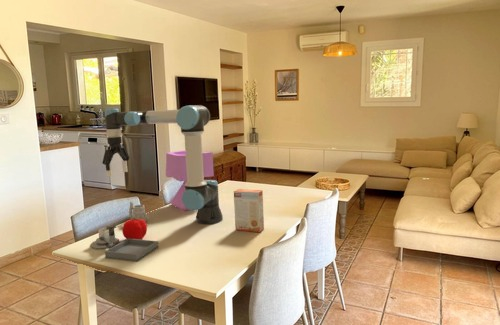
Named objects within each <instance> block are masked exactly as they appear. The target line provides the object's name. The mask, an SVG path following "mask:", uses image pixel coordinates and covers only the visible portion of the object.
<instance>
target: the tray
mask: <svg viewBox="0 0 500 325" xmlns="http://www.w3.org/2000/svg"><path fill="white" fill-rule="evenodd" d="M158 248H159V240H147V239H140V240H139V239H126V238H125V239H124V240H123V241H120V242H119V244H117V245H116V246H114V247H111V248H107V250H105V251H104V254H105V255H104V258H105V259H112V260H120V261H121V260H122V261H127V262H128V261H129V262H139V261H141V260H142V259H143V258H145V257H146V256H148V255H149V254H151V253H152V252H154V251H155V250H156V249H158Z"/></svg>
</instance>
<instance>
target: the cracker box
mask: <svg viewBox="0 0 500 325" xmlns="http://www.w3.org/2000/svg"><path fill="white" fill-rule="evenodd" d="M233 205H234V209H233V210H234V223H235V224H234V226H235V230H236V231H241V232H243V231H244V232H252V233H253V232H254V233H261V232H263V230H265V222H264V221H265V218H264V196H263V189H261V190H260V189H248V188H247V189H245V188H238V189H235V190H234V191H233Z"/></svg>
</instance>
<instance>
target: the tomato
mask: <svg viewBox="0 0 500 325" xmlns="http://www.w3.org/2000/svg"><path fill="white" fill-rule="evenodd" d="M147 230H148V225H147V221H146V222H145V221H144V220H142V219H137V218H136V219H135V218H134V219H131V218H130V219H128V220H126V221H125V222H124V223H123V225H122V230H121V233H122V235H123V238H125V240H126V239H139V240H143V239H144V237H145V236H146V235H147Z"/></svg>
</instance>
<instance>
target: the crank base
mask: <svg viewBox="0 0 500 325" xmlns="http://www.w3.org/2000/svg"><path fill="white" fill-rule="evenodd" d="M115 242H116V243H113V244H109V243H107V242H106V241H105V240H100V239H99V237H98V238H96V239H95V240H94V241H92V243H91V244H90V247H91V249H93V250H105V249H110V248H112V247H114V246H116V245H117V244H119V243H121V241H120V239H119V238H117V237H115Z"/></svg>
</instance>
